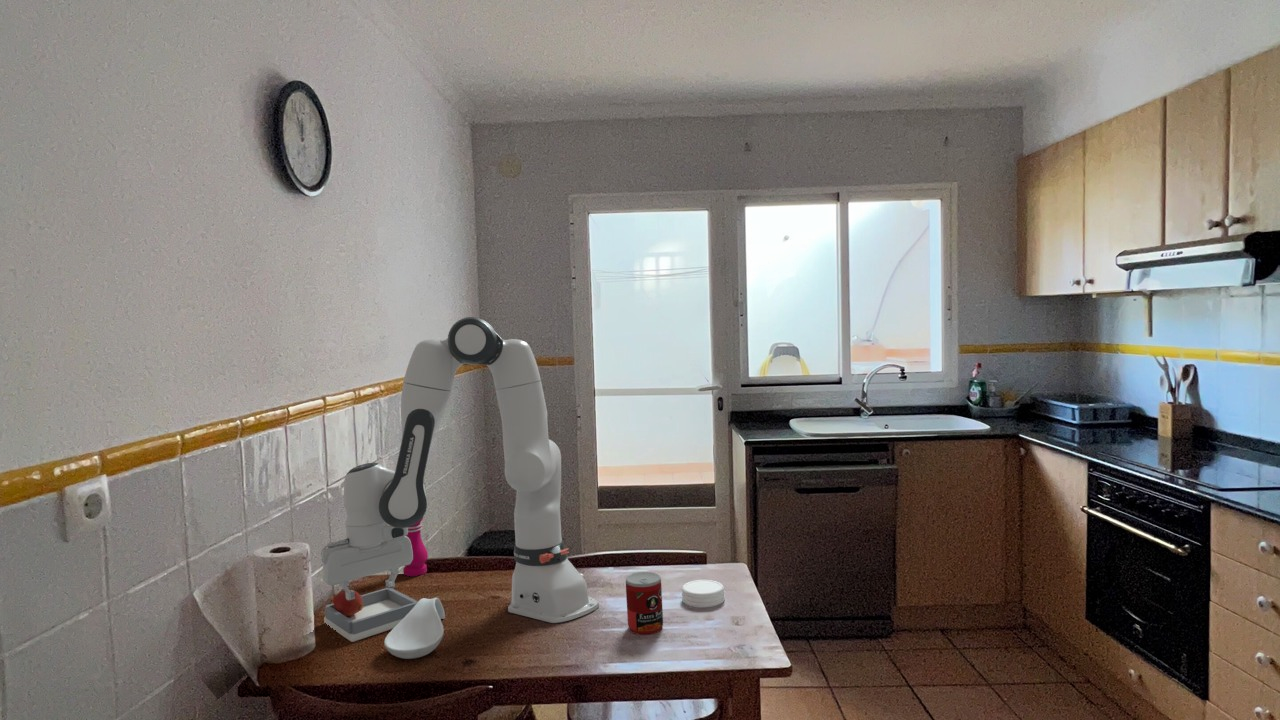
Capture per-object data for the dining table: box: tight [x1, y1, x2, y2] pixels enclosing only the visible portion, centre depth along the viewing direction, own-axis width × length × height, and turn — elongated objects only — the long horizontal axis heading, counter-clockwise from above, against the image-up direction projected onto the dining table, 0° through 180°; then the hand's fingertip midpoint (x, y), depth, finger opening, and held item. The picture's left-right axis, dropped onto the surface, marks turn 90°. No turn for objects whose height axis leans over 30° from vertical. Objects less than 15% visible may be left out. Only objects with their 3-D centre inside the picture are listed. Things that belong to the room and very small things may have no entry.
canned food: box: [625, 571, 664, 636], centre depth 156 cm, size 8×8×11 cm
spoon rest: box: [383, 597, 446, 660], centre depth 155 cm, size 24×12×7 cm, turn 4°
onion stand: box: [323, 587, 419, 643], centre depth 167 cm, size 16×16×4 cm
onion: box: [329, 589, 363, 617], centre depth 167 cm, size 6×6×8 cm
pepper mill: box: [402, 517, 429, 577], centre depth 201 cm, size 7×7×20 cm
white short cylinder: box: [681, 579, 726, 609], centre depth 170 cm, size 10×10×4 cm
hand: (370, 593), depth 167 cm, fingers open, 8 cm apart
